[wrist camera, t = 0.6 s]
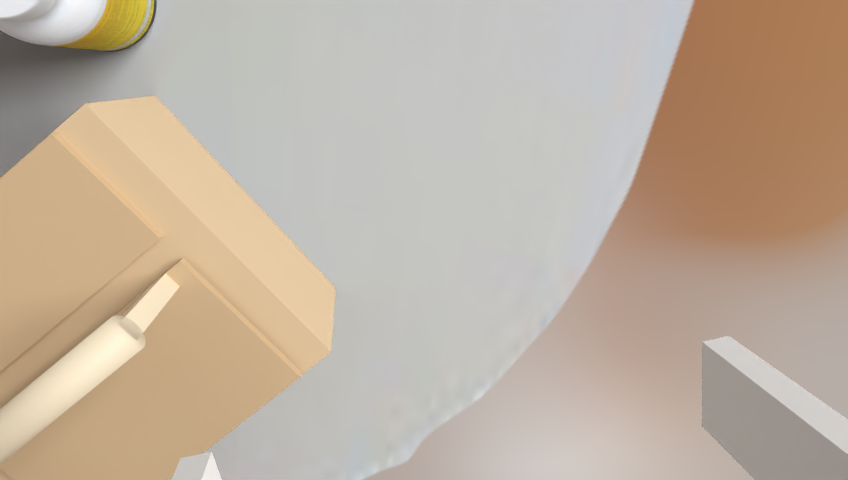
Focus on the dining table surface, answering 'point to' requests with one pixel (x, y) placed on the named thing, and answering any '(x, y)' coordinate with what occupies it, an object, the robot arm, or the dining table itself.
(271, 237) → the carton
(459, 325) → the dining table surface
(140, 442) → the flap
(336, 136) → the dining table surface
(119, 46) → the pill bottle
